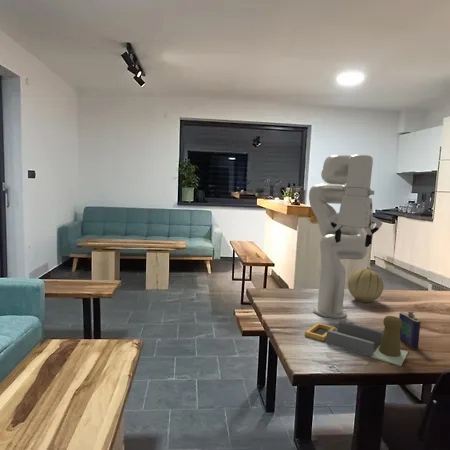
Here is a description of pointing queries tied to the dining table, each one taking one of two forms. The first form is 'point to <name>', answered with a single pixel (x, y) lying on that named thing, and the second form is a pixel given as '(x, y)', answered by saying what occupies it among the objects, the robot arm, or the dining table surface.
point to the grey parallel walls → (354, 338)
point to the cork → (391, 336)
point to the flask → (409, 329)
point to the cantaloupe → (365, 285)
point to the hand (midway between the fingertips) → (352, 244)
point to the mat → (390, 357)
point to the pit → (319, 331)
